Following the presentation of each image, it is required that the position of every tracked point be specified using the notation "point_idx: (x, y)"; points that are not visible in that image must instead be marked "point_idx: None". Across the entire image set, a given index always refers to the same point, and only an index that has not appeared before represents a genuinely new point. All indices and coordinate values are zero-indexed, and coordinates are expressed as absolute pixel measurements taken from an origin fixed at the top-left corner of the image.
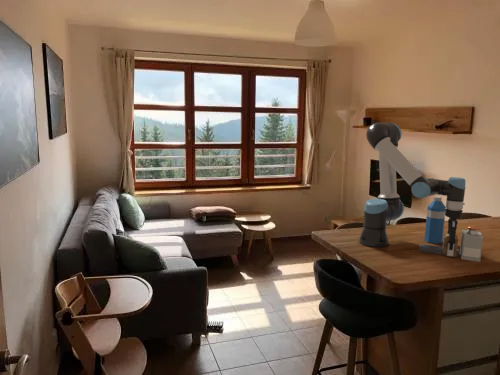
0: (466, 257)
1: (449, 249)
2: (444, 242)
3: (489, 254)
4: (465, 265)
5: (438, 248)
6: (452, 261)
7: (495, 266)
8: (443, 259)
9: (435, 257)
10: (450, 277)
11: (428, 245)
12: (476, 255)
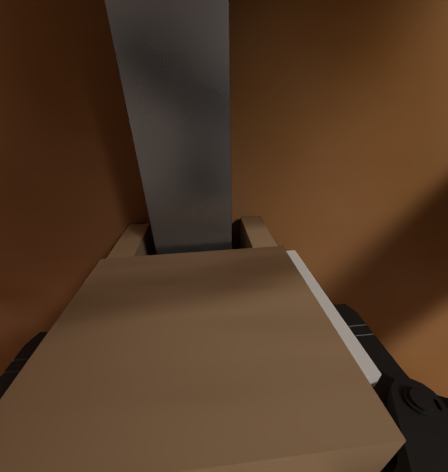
0: None
1: (36, 337)
2: (44, 352)
3: None
4: (9, 355)
5: (147, 200)
6: (24, 293)
7: None
8: (14, 233)
9: (9, 158)
10: None
11: (214, 26)
12: None
